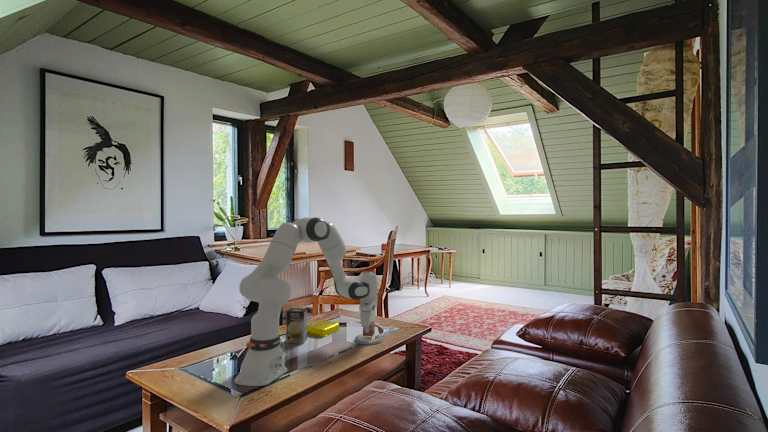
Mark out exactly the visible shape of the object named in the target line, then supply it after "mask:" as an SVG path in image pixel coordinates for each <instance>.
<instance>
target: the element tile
mask: <svg viewBox="0 0 768 432" xmlns="http://www.w3.org/2000/svg"><path fill="white" fill-rule="evenodd" d="M339 327H340V323H339V322H337V321H331V320H326V319H320V318H318V319H316V320H313V321H311V322H307V335H310V336H314V337H318V338H319V337H320V338H325V337H327V336H330V335H331V334H335V333H336V332H338V331H339V330H340V328H339Z"/></svg>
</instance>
